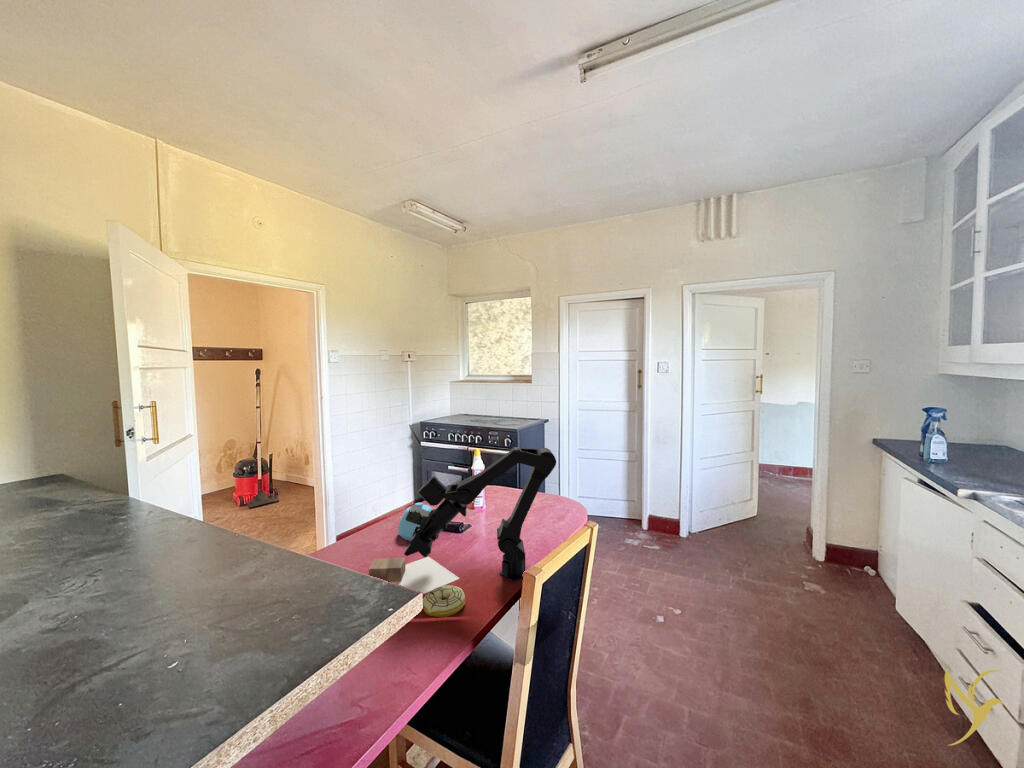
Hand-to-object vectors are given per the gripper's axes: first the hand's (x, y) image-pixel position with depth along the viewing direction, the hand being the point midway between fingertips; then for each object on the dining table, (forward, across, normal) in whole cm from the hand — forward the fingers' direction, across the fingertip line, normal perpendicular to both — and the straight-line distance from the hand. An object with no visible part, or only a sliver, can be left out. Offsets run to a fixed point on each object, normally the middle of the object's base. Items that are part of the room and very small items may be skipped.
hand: (405, 554), depth 117 cm
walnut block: (+4, 0, +3) cm, 5 cm away
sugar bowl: (+6, -31, +4) cm, 32 cm away
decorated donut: (-4, +15, +14) cm, 21 cm away
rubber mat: (+2, 0, +8) cm, 8 cm away
